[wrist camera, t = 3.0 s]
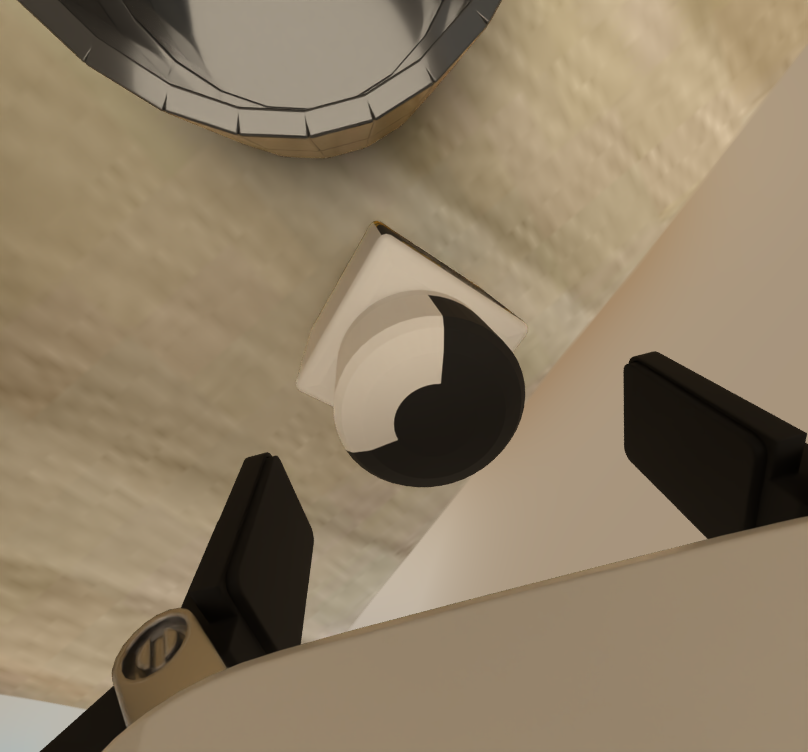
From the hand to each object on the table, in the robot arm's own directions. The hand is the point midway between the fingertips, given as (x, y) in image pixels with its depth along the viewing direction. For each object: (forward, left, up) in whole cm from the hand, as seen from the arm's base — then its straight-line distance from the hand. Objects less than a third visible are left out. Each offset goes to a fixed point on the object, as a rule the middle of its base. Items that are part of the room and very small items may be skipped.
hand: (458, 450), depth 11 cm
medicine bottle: (0, 0, -14) cm, 14 cm away
